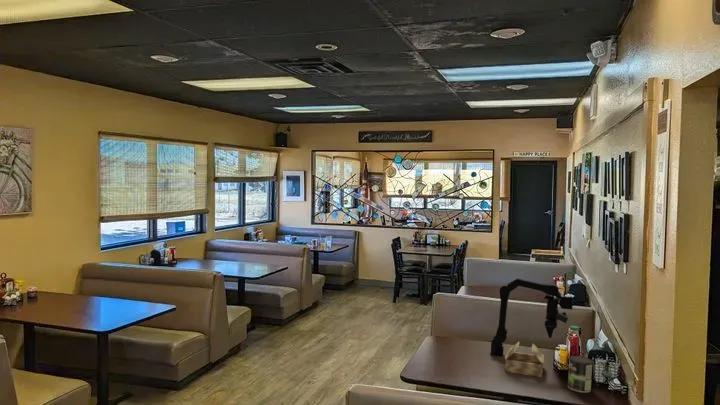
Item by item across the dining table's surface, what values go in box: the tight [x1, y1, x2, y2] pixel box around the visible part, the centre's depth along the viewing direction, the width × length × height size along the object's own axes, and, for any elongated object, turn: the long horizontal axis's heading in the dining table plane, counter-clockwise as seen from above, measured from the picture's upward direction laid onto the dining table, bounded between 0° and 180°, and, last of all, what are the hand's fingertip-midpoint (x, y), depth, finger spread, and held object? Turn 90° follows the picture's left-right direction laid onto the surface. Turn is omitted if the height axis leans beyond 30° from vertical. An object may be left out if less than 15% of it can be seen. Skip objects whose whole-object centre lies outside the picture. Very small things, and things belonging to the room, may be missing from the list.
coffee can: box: [567, 356, 594, 394], centre depth 252 cm, size 10×10×14 cm
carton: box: [504, 351, 544, 378], centre depth 277 cm, size 18×16×6 cm
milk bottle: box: [565, 325, 582, 353], centre depth 291 cm, size 8×8×20 cm
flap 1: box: [504, 341, 520, 360], centre depth 279 cm, size 8×15×1 cm
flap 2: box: [530, 343, 545, 365], centre depth 274 cm, size 8×15×1 cm
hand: (550, 335), depth 290 cm, fingers open, 9 cm apart
